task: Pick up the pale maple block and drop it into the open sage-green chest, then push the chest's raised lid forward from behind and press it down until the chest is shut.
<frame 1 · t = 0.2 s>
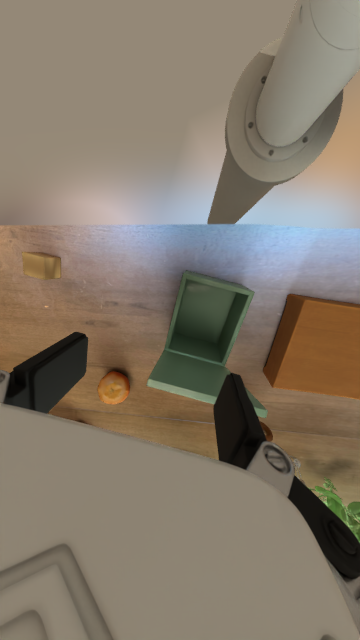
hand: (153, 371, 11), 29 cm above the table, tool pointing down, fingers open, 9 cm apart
plant cuttings: (284, 466, 54), on the table
chest: (203, 310, 40), on the table
fruit: (120, 378, 49), on the table
block: (51, 265, 39), on the table
wooden box: (350, 345, 39), on the table
lid: (198, 373, 25), point 17 cm above the table, hinge at 70.0°
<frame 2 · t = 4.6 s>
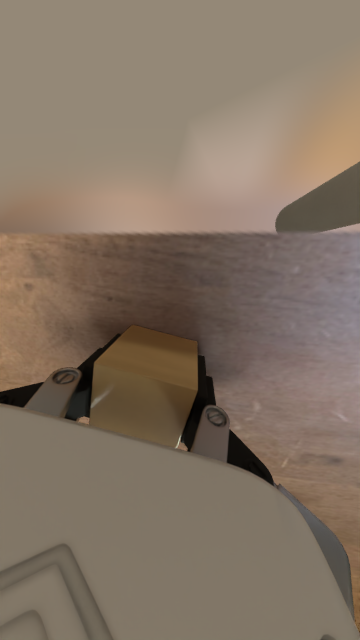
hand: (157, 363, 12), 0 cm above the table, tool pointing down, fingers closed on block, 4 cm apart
block: (158, 360, 12), on the table, touching gripper
when the fingers open (8 cm above the table, at t = 12.4 s): block drops 7 cm, resting on chest.
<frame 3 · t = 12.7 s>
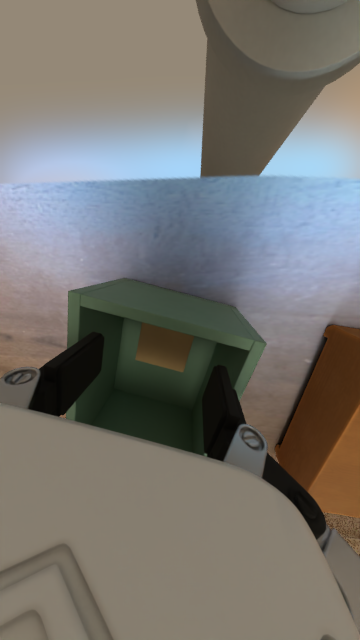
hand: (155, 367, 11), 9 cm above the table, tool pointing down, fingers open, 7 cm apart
chest: (165, 352, 21), on the table
block: (171, 326, 19), point 1 cm above the table, touching chest
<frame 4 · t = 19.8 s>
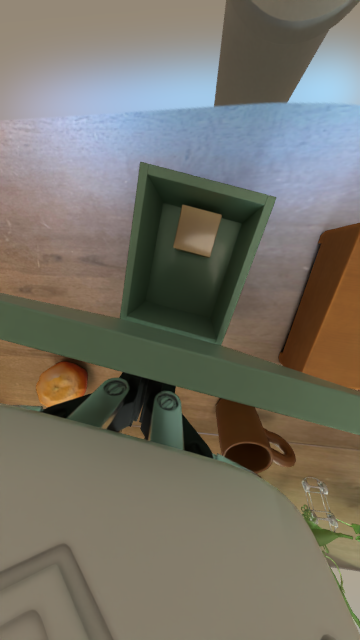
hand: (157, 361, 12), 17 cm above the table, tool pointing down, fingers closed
mug: (244, 409, 34), on the table
plant cuttings: (304, 490, 41), on the table
chest: (189, 265, 26), on the table
fruit: (77, 372, 35), on the table
block: (196, 237, 24), point 1 cm above the table, touching chest
lid: (163, 338, 12), point 17 cm above the table, hinge at 66.3°, touching gripper
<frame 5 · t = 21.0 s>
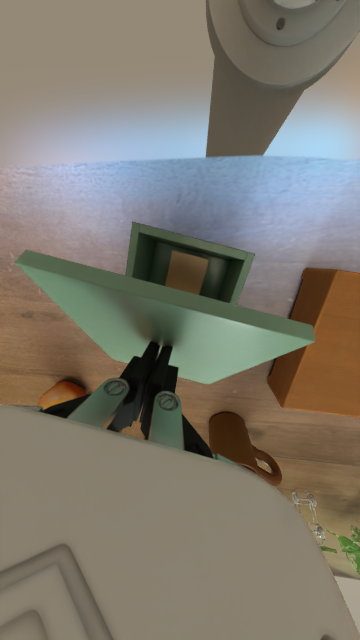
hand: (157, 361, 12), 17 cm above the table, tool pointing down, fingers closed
mug: (236, 426, 36), on the table
plant cuttings: (294, 502, 42), on the table
chest: (181, 296, 28), on the table
fruit: (76, 390, 37), on the table
block: (187, 271, 26), point 1 cm above the table, touching chest
lid: (162, 350, 14), point 15 cm above the table, hinge at 43.0°
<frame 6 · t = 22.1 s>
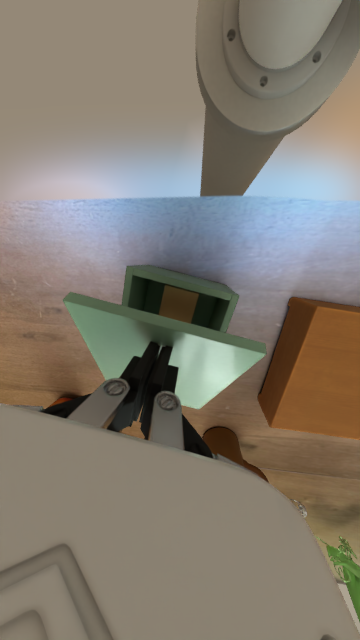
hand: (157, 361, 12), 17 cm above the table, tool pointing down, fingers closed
mug: (229, 439, 37), on the table
plant cuttings: (286, 511, 44), on the table
chest: (175, 320, 29), on the table
block: (180, 299, 27), point 1 cm above the table, touching chest
lid: (158, 372, 17), point 14 cm above the table, hinge at 31.2°
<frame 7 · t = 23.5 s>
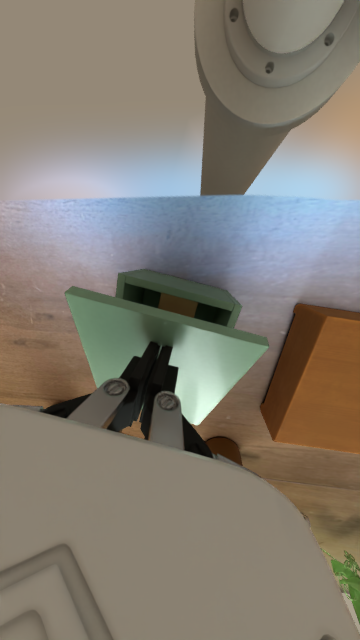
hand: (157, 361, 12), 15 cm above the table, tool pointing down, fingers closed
mug: (230, 449, 36), on the table
plant cuttings: (289, 521, 42), on the table
chest: (173, 327, 27), on the table
block: (179, 305, 25), point 1 cm above the table, touching chest
lid: (156, 378, 16), point 12 cm above the table, hinge at 22.8°, touching gripper
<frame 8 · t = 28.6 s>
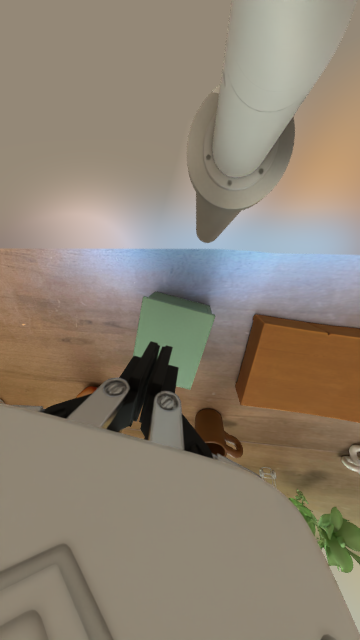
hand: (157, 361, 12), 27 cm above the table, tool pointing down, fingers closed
mug: (215, 418, 49), on the table
plant cuttings: (262, 477, 55), on the table
chest: (174, 329, 41), on the table
fruit: (98, 393, 50), on the table
wooden box: (317, 362, 40), on the table
lid: (169, 346, 32), point 9 cm above the table, hinge at 1.0°
knot: (353, 450, 48), on the table
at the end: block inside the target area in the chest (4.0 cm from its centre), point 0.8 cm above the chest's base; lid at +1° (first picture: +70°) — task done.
